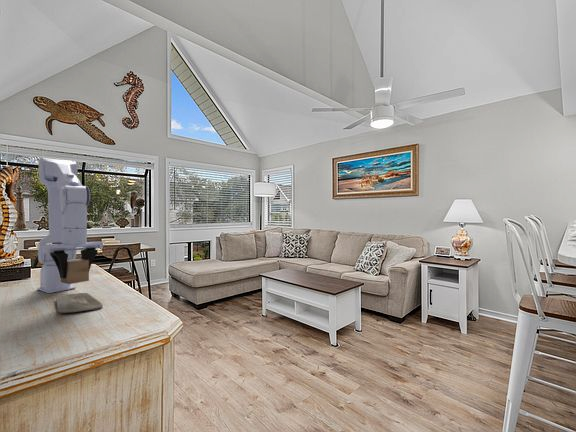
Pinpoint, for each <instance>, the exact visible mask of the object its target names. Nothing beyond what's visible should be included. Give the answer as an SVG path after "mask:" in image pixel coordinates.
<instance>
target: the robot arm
mask: <svg viewBox="0 0 576 432" xmlns="http://www.w3.org/2000/svg"><path fill="white" fill-rule="evenodd" d="M78 171H79V170H78V163H77V162H76V161H75V160H65V159H57V158H49V157H48V158H46V157H44V156H42V157H40V158H39V160H38V179H39V184H41V185H43V186H45V188H46V190H47V201H48V203H47V205H48V234H47V235H46V236H44V237H43V238H41V239H40V240H39V242H38V248H37V260H38V262H39V263H40V264H42V267H41V268H40V272H39V274H40V276H39V277H40V280H39V281H40V282H39V283H40V285H39V287H36V290H38V291H41V292H43V293H46V294H52V293H56V292H57V293H58V292H63V291H68V290H74V289H76V288H77V287H76V286H73V285H72V284H66V283H63V282H61V278H66V276H67V260H70V259H77V251H80V255H81V259H87V260H89V271H90V270H91V266H92V264H93V261H94V259H95V258H96V256H97V254H98V249H104V242H103V241H87V240H88V230H87V229H88V221H87V220H88V206H89V204H90V201H91V191H90V188H89V186H88V185H83V184H82V182H81V181H80V178H79V177H78Z"/></svg>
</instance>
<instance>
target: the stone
mask: <svg viewBox="0 0 576 432" xmlns="http://www.w3.org/2000/svg"><path fill="white" fill-rule="evenodd" d="M55 297H56V299H55V300H56V306H57V312H58V313H61V314H62V313H63V314H69V313H78V312H83V311H93V310H99V309H101V308H102V307H103V303H102V302H101V301H100V300H98V299H96V298H95V297H94V296H93V295H91V294H90V293H87V292H79V293H67V294H66V293H65V294H57V295H56V296H55Z"/></svg>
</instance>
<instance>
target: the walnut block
mask: <svg viewBox="0 0 576 432" xmlns="http://www.w3.org/2000/svg"><path fill="white" fill-rule="evenodd" d="M89 281H90V270H89V260H87V259H82V257H81V258H80V257H79V258H75V259H70V260H67V276H66V278H61V282H63V283H66V284H71V285H72V284H79V283H84V282H89Z"/></svg>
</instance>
